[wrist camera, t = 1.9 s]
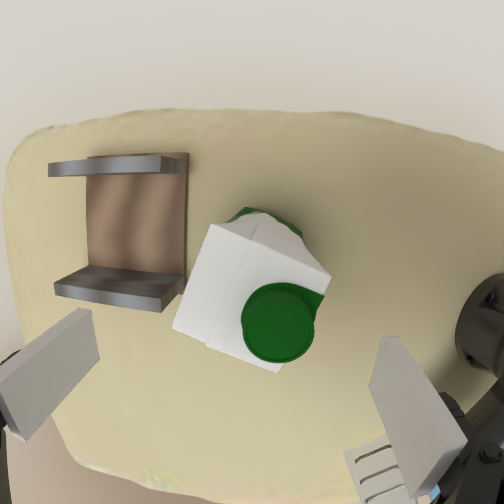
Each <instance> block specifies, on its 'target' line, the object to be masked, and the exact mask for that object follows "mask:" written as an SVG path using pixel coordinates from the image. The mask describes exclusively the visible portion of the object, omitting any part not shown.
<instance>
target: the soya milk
mask: <svg viewBox="0 0 504 504" xmlns="http://www.w3.org/2000/svg"><path fill="white" fill-rule="evenodd" d="M331 279H332V277H331V275H330V274H329V273H328V272H327V271H326V270H325V269H324V268H323V267H322V266H321V265H320V263H319V262H318V261H317V260H316V259H315V258H314V257H313V256H312V255H311V253H310V252H309V251H308V250H307V249H306V247H305V245H304V243H303V239H302V233H301V232H300V231H299V230H298V229H297V228H296V227H294V226H292V225H291V224H289V223H287V222H285V221H283V220H281V219H279V218H277V217H275V216H272V215H270V214H268V213H265V212H263V211H259V210H254V209H251V208H247V207H245V208H244V209H242V210H241V211H240V212H239V213H238V214H236V215H235V216H234V217H233V218H231V219H230V220H229V221H228V222H227V223H215V224H213V223H212V224H211V225H210V227H209V230H208V232H207V234H206V236H205V239H204V241H203V243H202V246H201V248H200V251H199V254H198V256H197V259H196V261H195V264H194V266H193V269H192V272H191V274H190V277H189V279H188V282H187V285H186V287H185V290H184V293H183V296H182V298H181V301H180V304H179V307H178V310H177V313H176V315H175V318H174V321H173V324H172V328H173V329H175V330H177V331H179V332H182V333H184V334H186V335H188V336H190V337H193V338H195V339H197V340H199V341H201V342H204V343H206V346H208V347H210V348H212V349H214V350H217V351H219V352H224V353H226V354H228V355H231V356H233V357H236V358H238V359H241V360H244V361H246V362H249V363H251V364H254V365H257V366H259V367H262V368H265V369H268V370H270V371H273V372H276V373H278V372H279V371H280V370H281V368H282V367H283V365H284V363H286V362H290V361H293V360H295V359H297V358H299V357H300V356H302V355H303V354H304V353H305V352H306V351H307V350H308V349H309V347H310V346H311V344H312V341H313V338H314V332H315V331H314V321H315V317H316V312H317V309H318V307H319V305H320V304H321V302H322V300H323V298H324V296H323V294H324V292H325V290H326V289H327V287H328V285H329V283H330V281H331Z"/></svg>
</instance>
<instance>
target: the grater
mask: <svg viewBox="0 0 504 504" xmlns="http://www.w3.org/2000/svg"><path fill="white" fill-rule="evenodd" d="M389 444H390V441H389V438H388V435H387V434H385V435H383V436H381V437H379V438H376V439H374V440H372V441H370V442H367V443H365V444H362V445H360V446H358V447H355V448H353V449H350V450H348V451H345V452H343V454H344V457H345V460H346V462H347V465H348V468H349V471H350V473H351V476H352V479H353V481H354V484H355V487H356V490H357V493H358V495H359V498H360V501H361V504H365V503H366V504H418V500H417V497H416V498H411V499H410V498H409V495H408V492H407V489H406V488H403V487H401V488H398V489H396V490H394V491H391V492H389V493H386V494H384V495H381V496H379V497H376V496H378V495H380V494H383V493H385V492H388V491H390V490H393V489H395V488H397V487H400V486H402V485H405V483H404V480H403V477H402V474H401V472H400V469H399V466H398V463H397V460H396V457H395V455H394V452H393V449H392V448H386V449H384V450H382V451H379V452H377V453H375V454H372V455H370V456H368V457H365V458H363V459H360V460H359V461H358V462H357V463H356V464H355V460H356V459H357V458H358V457H359V456H362V455H364V454H367V453H369V452H372V451H374V450H376V449H378V448H381V447H383V446H385V445H389ZM375 497H376V498H375ZM373 498H374V499H373ZM364 500H365V501H366V502H365V501H364Z"/></svg>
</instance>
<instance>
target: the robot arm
mask: <svg viewBox="0 0 504 504" xmlns="http://www.w3.org/2000/svg"><path fill="white" fill-rule="evenodd" d="M455 342H456V348H457V351H458V353H459V355H460V356H461V357H462V358H463V359H464V360H465V362H466V363H467V364H469V365H470V366H472V367H474V368H477V369H479V370H482V371H485V372H487V373H490V374H493V375H495V376H496V377H497V378H498V380H497V381H496V383H495V384H494V385H493V386H492V387H491V388H490V389H489V390H488V391H487V393H486V394H485V395H484V396H483V397H482V398H481V399H480V400H479V401H478V402H477V403H476V404H475V405H474V406H473V407H472V408H471V409H470V410H469V411H468V412H467V413H466V414H464V413H463V411H462V410H460V407H459V405H458V404H457V402H456V401H455V399H453V398H452V397H451V396H449V395H448V394H447V393H445V392H441V393H437V391H436V390H435V388H434V387H433V385H432V384H431V382H430V381H429V379H428V378H427V376H426V375H425V373H424V372H423V371H422V369H421V368H420V366H419V365H418V363H417V362H416V360H415V359H414V358H413V356H412V355H411V353H410V352H409V351H408V349H407V348H406V346H405V345H404V344H403V342H402V341H401V339H400V338H399V337H398V336H383V337H382V341H381V345H380V349H379V353H378V356H377V360H376V364H375V367H374V371H373V374H372V377H371V381H370V384H369V389H370V392H371V394H372V397H373V399H374V402H375V404H376V407H377V409H378V412H379V414H380V417H381V420H382V422H383V425H384V427H385V430H386V433H387V435H388V438H389V441H390V444H391V446H392V449H393V452H394V455H395V457H396V460H397V463H398V466H399V469H400V472H401V474H402V477H403V480H404V483H405V486H406V489H407V492H408V495H409V498H410V499H411V498H416V497H420V496H424V495H427V494H428V495H429V497H430V499H431V501H432V502H431V503H430V504H504V274H499V275H495V276H492V277H490V278H489V279H487V280H486V281H484V282H483V283H482V284H481V285H480V286H479V287H478V288H477V289H476V290H475V291H474V292H473V293H472V295H471V296H470V298H469V299H468V301H467V302H466V304H465V306H464V308H463V310H462V312H461V314H460V317H459V320H458V323H457V328H456V335H455ZM99 360H100V357H99V352H98V347H97V342H96V337H95V331H94V325H93V319H92V312H91V310H88V309H83V308H78V309H76V310H75V311H73V312H72V313H71V314H69V315H68V316H66V317H65V318H64V319H62V320H61V321H59V322H58V323H57V324H55V325H54V326H53V327H51V328H50V329H48V330H47V331H46V332H44V333H43V334H42V335H40V336H39V337H38V338H36V339H35V340H33V341H32V342H31V343H29V344H28V345H27V346H25V347H24V348H23V349H21V350H18V351H16V352H14V353H13V354H11V355H10V356H9V357H8V358H7V359H5V360H4V361H2V362H1V364H0V504H12V501H11V494H10V487H9V479H8V467H7V451H6V434H5V431H4V429H3V427H5V426H6V425H8V427H9V429H10V430H11V432H12V434H13V435H14V436H15V437H17V438H19V439H20V440H22V441H24V442H27V441H28V440H29V439H30V438H31V436H32V435H33V434H34V433H35V432H36V430H37V429H38V428H39V427H40V426H41V425H42V423H43V422H44V421H45V420H46V419H47V417H49V415H50V414H51V413H52V412H53V411H54V410H55V409H56V407H57V406H58V405H59V404H60V403H61V402H62V401H63V400H64V398H65V397H66V396H67V395H68V394H69V393H70V392H71V391H72V389H73V388H74V387H75V386H76V385H77V384H78V383H79V382H80V381H81V379H82V378H83V377H84V376H85V375H86V374H87V373H88V372H89V371H90V370H91V368H92V367H93V366H94V365H95V364H96V363H97V362H98V361H99Z"/></svg>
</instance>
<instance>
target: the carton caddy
mask: <svg viewBox="0 0 504 504" xmlns="http://www.w3.org/2000/svg"><path fill="white" fill-rule="evenodd" d="M188 165H189V153H146V154H125V155H109V156H96V157H87V159H85V160H74V161H65V162H56V163H48V177H62V176H87V179H86V222H87V246H88V261H89V265H88V266H86V267H84V268H82V269H80V270H78V271H76V272H74V273H72V274H70V275H68V276H66V277H64V278H62V279H60V280H58V281H56V282H54V289H55V295H58V296H63V297H68V298H73V299H78V300H84V301H89V302H95V303H100V304H106V305H112V306H118V307H125V308H131V309H138V310H145V311H152V312H159V313H161V312H162V311H163V310H164V309H165V308H166V307H167V306H168V304H169V303H170V302H171V301H172V300H173V299H174V298H175V296H176V295H177V294H183V293H184V290H185V287H186V218H187V187H188Z"/></svg>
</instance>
